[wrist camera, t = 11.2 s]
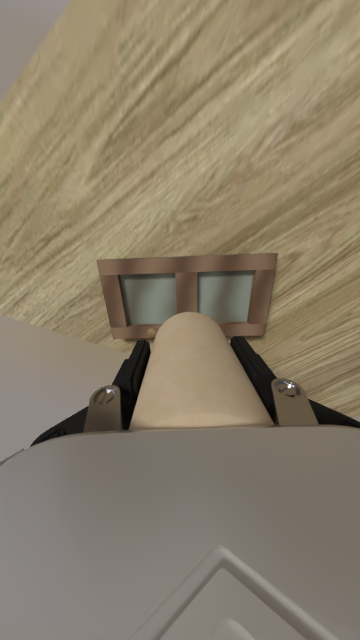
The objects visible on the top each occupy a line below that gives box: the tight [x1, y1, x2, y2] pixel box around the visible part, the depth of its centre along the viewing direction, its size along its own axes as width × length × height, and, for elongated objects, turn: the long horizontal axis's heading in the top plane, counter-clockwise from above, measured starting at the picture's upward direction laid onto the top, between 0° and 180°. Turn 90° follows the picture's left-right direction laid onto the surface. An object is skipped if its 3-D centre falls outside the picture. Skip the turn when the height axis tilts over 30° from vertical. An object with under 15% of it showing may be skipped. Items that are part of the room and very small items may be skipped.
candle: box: [129, 312, 274, 430], centre depth 9 cm, size 6×6×10 cm
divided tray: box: [96, 253, 278, 339], centre depth 25 cm, size 24×12×3 cm, turn 92°
